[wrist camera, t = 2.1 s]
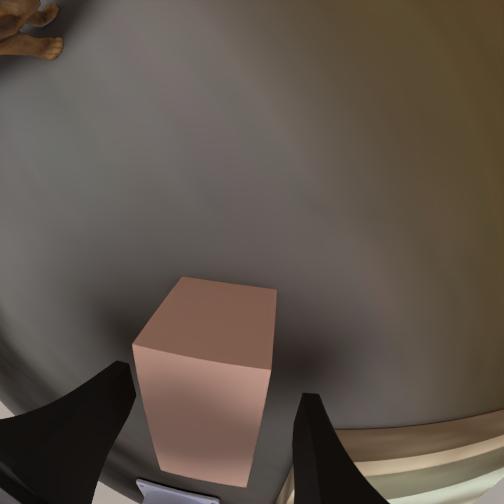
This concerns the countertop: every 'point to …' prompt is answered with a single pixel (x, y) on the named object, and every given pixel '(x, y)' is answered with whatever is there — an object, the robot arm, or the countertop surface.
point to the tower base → (426, 460)
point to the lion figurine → (16, 43)
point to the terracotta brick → (207, 377)
